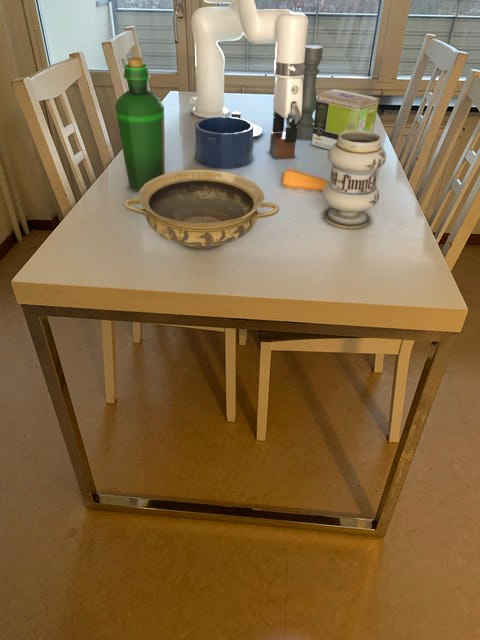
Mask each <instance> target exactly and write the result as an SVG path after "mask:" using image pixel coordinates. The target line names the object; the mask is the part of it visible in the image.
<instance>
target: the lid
mask: <svg viewBox="0 0 480 640" xmlns="http://www.w3.org/2000/svg"><path fill="white" fill-rule="evenodd" d="M241 114H242V113H241V112H239V111H232V112H231V117H236V118H240V119H242V118H241ZM253 127H254V130H253V139H256V138H259V137H260V136H261V135H262V134H263V129H262V128H261V127H260V126H258V125H256V124H253Z"/></svg>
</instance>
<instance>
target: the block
mask: <svg viewBox="0 0 480 640" xmlns="http://www.w3.org/2000/svg"><path fill="white" fill-rule="evenodd" d="M269 143H270V144H269V153H270V154H271V155H272V156H273V158H275V159H276V160H281V159H293V158H295V153H296V144H297V141H296V142H295V143H285V131H283V132H275V133H274V132H271V133H270V142H269Z"/></svg>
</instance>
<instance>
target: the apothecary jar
mask: <svg viewBox="0 0 480 640" xmlns="http://www.w3.org/2000/svg"><path fill="white" fill-rule="evenodd" d="M327 158H328V161H329V162H330V164H331V172H330V177H329V181H330V182H328V183H327V184H326V185H325V187H324V188H323V191H322V198H323V200H324V201H325V203H326V204H327V205H329V206H330V207H331V208H328V209H327V210H326V211H325V212H324V215H325V216H324V219H325V221H326V222H328V223H329V224H331V225H333V226H336V227H339V228H343V229H359V228H362V227H364V226H366V225H368V224H369V221H370V217H369V215H368V214H367V212H365V211H367V210H369V209H371V208H373V207H374V206H376V205H377V203H378V202H379V200H380V191H379V189H378V188H377V186H376V184H377V178H378V177H377V176H378V170H379V169H380V168H381V167H382V166H384V164H386V161H387V153H386V150H385V149H384V148H383V146H382V138H381V136H380V135H379V134H377V133H375V132H373V133H372V132H367V131H360V130H351V131H345V132H342V133H340V134H339V137H338V140H337V142H336V143H335V144H333V145H332V146H331V147H330V149H328V151H327Z"/></svg>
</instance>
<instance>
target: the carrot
mask: <svg viewBox="0 0 480 640" xmlns="http://www.w3.org/2000/svg"><path fill="white" fill-rule="evenodd" d="M280 181H281V183H282V186H284V187H285V188H288V189H297V190H298V189H299V190H307V191H308V190H309V191H322V192H323V188H324V187H325V185H326V184H327V183H328V182H330V180H327V179H324V178H321V177H318V176H315V175H312V174H308V173H305V172H302V171H299V170H297V169H293V168H291V169H285V170H284V172H282V176H281V180H280Z"/></svg>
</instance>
